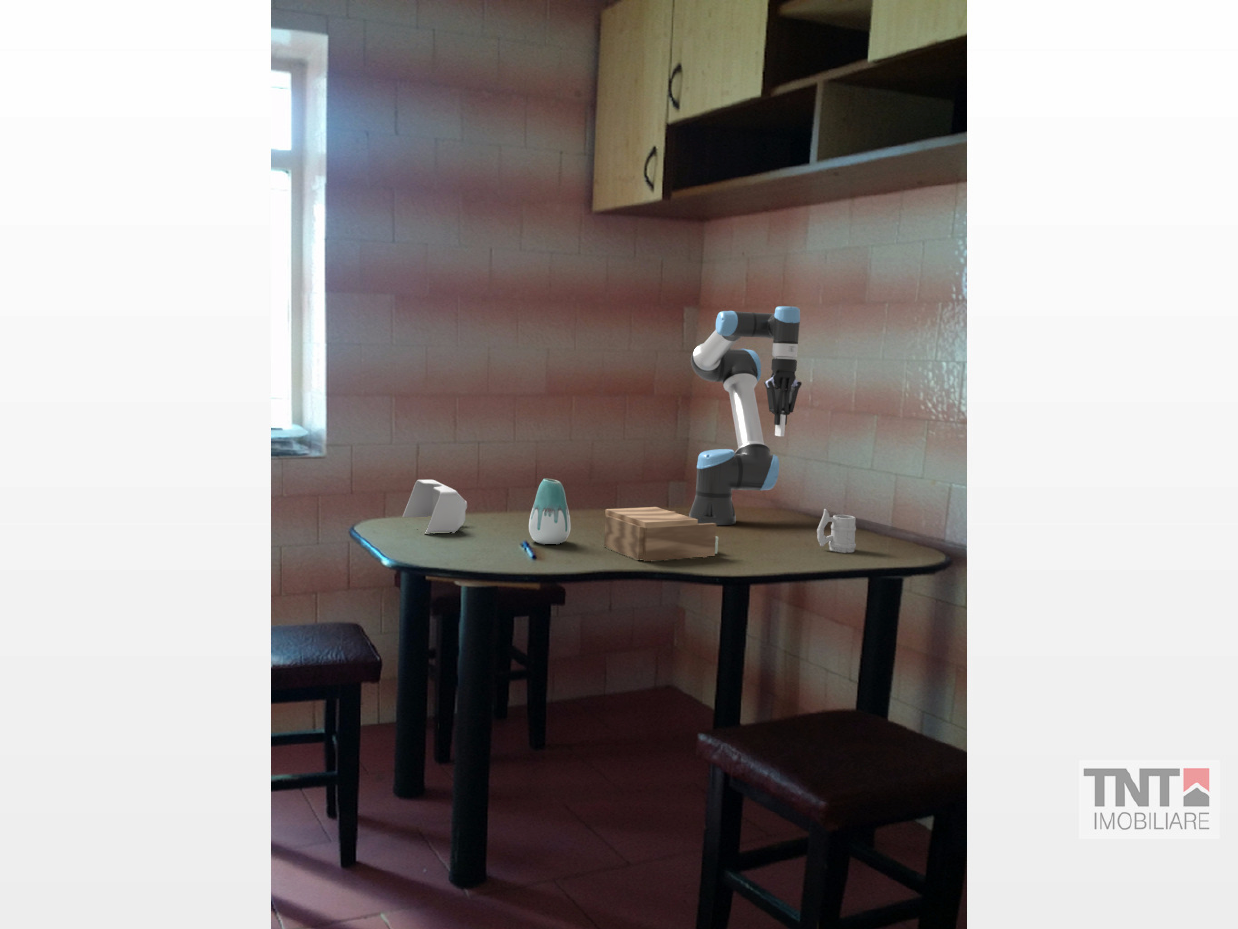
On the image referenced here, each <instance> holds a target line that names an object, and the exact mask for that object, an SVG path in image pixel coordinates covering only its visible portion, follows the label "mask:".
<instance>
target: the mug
mask: <svg viewBox="0 0 1238 929" xmlns="http://www.w3.org/2000/svg"><path fill="white" fill-rule="evenodd" d="M829 513H830V512H828V509H826V508H824V509H823V513H822V514H823V515H822V517H821V519H820V522H819V523H818V524H819V525H818V527H817V529H816V533H817V536H816V537H817V541H818V544H819V546H820V547H824V546H825V545H826V544H827V543H828V546H829V551H832V552H834V553H837V552H838V553H845V554H846V553H850V554H851V553H854V552H855V548H857V547H856V546H857V544H856V541H855V540H856V531H857V526H856V517H855V516H852V515H847V514H833V516H832V517H831V516H830V514H829ZM829 522H831V524H830V529H831V530H830V531H831V533H830V534H829V535H827V536H826V535H825V534H824V533H825V528H826V526H827V525H828V523H829Z"/></svg>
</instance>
